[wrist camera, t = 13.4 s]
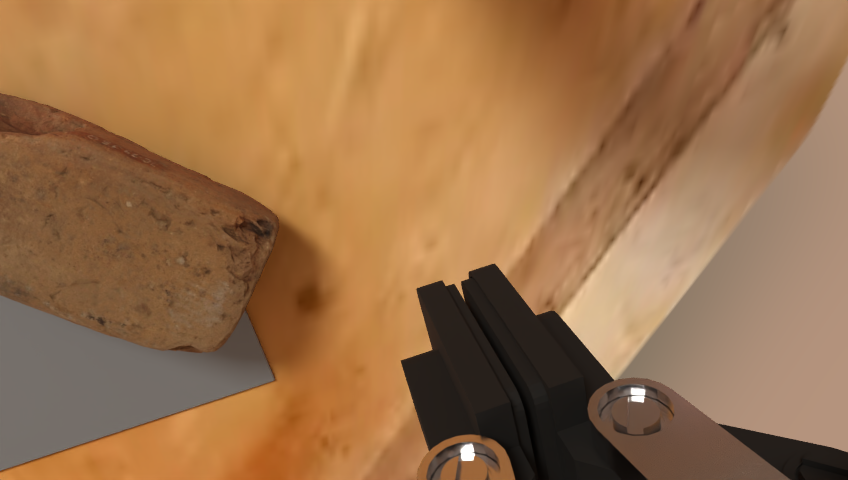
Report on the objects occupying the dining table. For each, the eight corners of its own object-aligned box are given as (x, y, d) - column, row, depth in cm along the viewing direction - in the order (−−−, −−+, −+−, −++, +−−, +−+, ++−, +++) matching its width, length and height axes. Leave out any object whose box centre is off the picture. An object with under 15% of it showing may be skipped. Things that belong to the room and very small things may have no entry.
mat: (207, 220, 42) (207, 222, 41) (274, 378, 48) (274, 380, 47) (-125, 319, 39) (-128, 321, 39) (-11, 471, 45) (-13, 474, 45)
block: (207, 384, 37) (-170, 250, 31) (222, 326, 44) (-84, 207, 38) (286, 237, 35) (-104, 58, 28) (289, 200, 42) (-24, 50, 35)
